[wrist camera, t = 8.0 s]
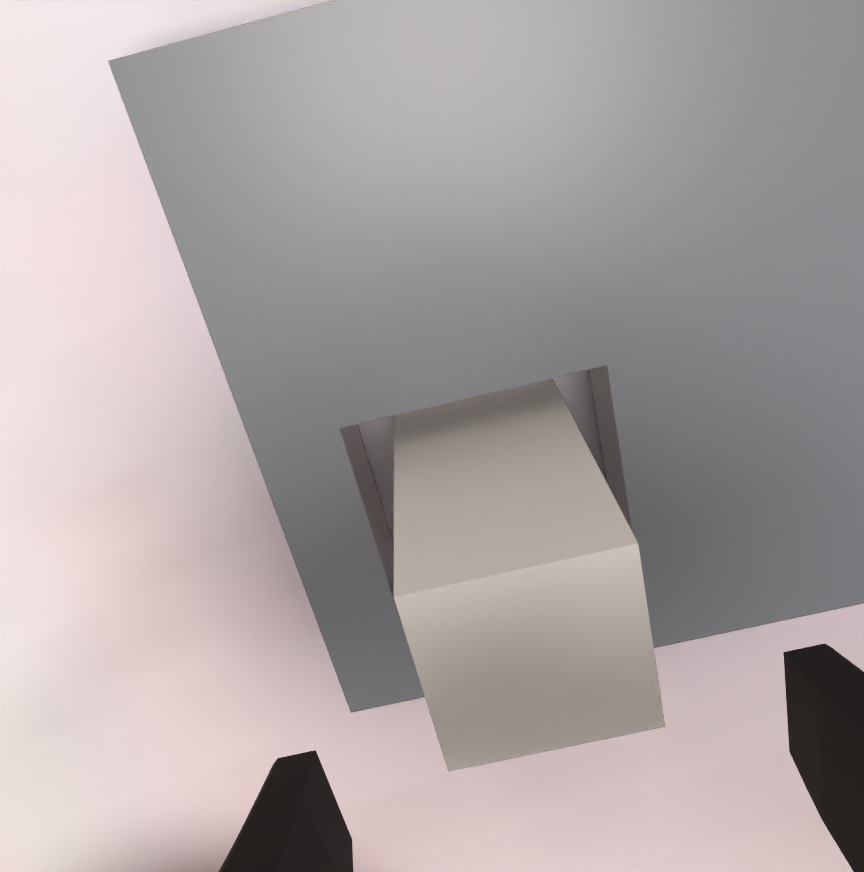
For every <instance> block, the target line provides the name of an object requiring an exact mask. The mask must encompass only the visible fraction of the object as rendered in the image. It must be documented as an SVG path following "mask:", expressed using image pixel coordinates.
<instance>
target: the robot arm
mask: <svg viewBox="0 0 864 872" xmlns="http://www.w3.org/2000/svg"><path fill="white" fill-rule="evenodd" d="M784 666H785V683H786V699H787V716H788V733H789V750H790V753H791V756H792V758H793V760H794V762H795V764H796V766H797V768H798V771H799V773H800V775H801V777H802V779H803V781H804V784H805V786H806V788H807V790H808V792H809V794H810V796H811V798H812V800H813V802H814V804H815V806H816V808H817V810H818V812H819V814H820V816H821V818H822V820H823V822H824V824H825V825H826V827H827V829H828V830H829V832H830V834H831V835H832V837H833V839H834V840H835V842H836V843H837V845H838V847H839V848H840V850H841V852H842V853H843V855H844V856H845V858H846V860H847V861H848V863H849V865H850V866H851V868H852V870H853V871H854V872H864V672H863V671H862V670H860V669H859V668H858V667H856V666H855V665H854V664H852V663H851V662H850V661H849V660H847V659H846V658H845V657H843V656H842V655H841V654H839V653H838V652H837V651H835V650H834V649H833V648H831V647H830V646H828V645H826V644H821V645H816V646H812V647H807V648H802V649H797V650H792V651H788V652H784ZM219 872H353V855H352V838H351V836H350V833H349V831H348V829H347V826H346V824H345V821H344V819H343V816H342V814H341V811H340V809H339V807H338V804H337V802H336V799H335V797H334V794H333V792H332V789H331V787H330V785H329V782H328V780H327V777H326V775H325V772H324V770H323V767H322V765H321V763H320V760H319V758H318V755H317V753H316V750H315V751H310V752H306V753H301V754H296V755H291V756H287V757H282V758H278V759H277V760H276V762H275V763H274V764H273V766H272V768H271V770H270V772H269V774H268V776H267V778H266V780H265V782H264V784H263V787H262V789H261V791H260V793H259V795H258V797H257V799H256V801H255V803H254V805H253V807H252V809H251V811H250V813H249V815H248V817H247V819H246V821H245V823H244V825H243V827H242V829H241V831H240V833H239V835H238V837H237V839H236V841H235V843H234V844H233V846H232V848H231V850H230V852H229V854H228V856H227V858H226V859H225V861H224V863H223V865H222V867H221V869H220V871H219Z"/></svg>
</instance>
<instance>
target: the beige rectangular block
mask: <svg viewBox="0 0 864 872" xmlns="http://www.w3.org/2000/svg"><path fill="white" fill-rule="evenodd" d="M394 600H395V603H396V607H397V610H398V613H399V616H400V619H401V622H402V626H403V629H404V632H405V635H406V638H407V641H408V645H409V648H410V651H411V654H412V657H413V661H414V664H415V667H416V670H417V673H418V676H419V680H420V683H421V686H422V689H423V692H424V695H425V699H426V702H427V705H428V708H429V711H430V714H431V718H432V721H433V724H434V727H435V730H436V734H437V737H438V740H439V743H440V746H441V749H442V753H443V756H444V759H445V762H446V765H447V768H448V772H449V771H454V770H458V769H463V768H468V767H473V766H478V765H482V764H487V763H492V762H497V761H502V760H507V759H511V758H516V757H521V756H526V755H531V754H536V753H540V752H545V751H550V750H555V749H560V748H564V747H569V746H574V745H579V744H584V743H589V742H593V741H598V740H603V739H608V738H613V737H618V736H622V735H627V734H632V733H637V732H642V731H646V730H651V729H656V728H661V727H665V722H664V715H663V709H662V702H661V695H660V688H659V681H658V675H657V668H656V661H655V654H654V647H653V641H652V634H651V627H650V620H649V613H648V607H647V600H646V593H645V586H644V579H643V573H642V566H641V559H640V552H639V545H638V542H637V540H636V538H635V536H634V534H633V532H632V530H631V529H630V527H629V525H628V523H627V521H626V519H625V517H624V515H623V513H622V511H621V509H620V507H619V505H618V503H617V502H616V500H615V498H614V496H613V494H612V492H611V490H610V488H609V486H608V484H607V482H606V480H605V478H604V476H603V475H602V473H601V471H600V469H599V467H598V465H597V463H596V461H595V459H594V457H593V455H592V453H591V451H590V449H589V448H588V446H587V444H586V442H585V440H584V438H583V436H582V434H581V432H580V430H579V428H578V426H577V424H576V422H575V421H574V419H573V417H572V415H571V413H570V411H569V409H568V407H567V405H566V403H565V401H564V399H563V397H562V395H561V394H560V392H559V390H558V388H557V386H556V384H555V382H554V380H553V378H551V379H547V380H542V381H538V382H534V383H530V384H525V385H521V386H517V387H513V388H508V389H504V390H500V391H496V392H491V393H487V394H483V395H479V396H474V397H470V398H466V399H462V400H457V401H453V402H449V403H445V404H440V405H436V406H432V407H428V408H424V409H419V410H415V411H411V412H407V413H402V414H398V415H394Z"/></svg>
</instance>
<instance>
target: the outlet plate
mask: <svg viewBox="0 0 864 872" xmlns="http://www.w3.org/2000/svg"><path fill="white" fill-rule="evenodd" d="M108 62H109V65H110V67H111V70H112V73H113V75H114V78H115V81H116V84H117V86H118V89H119V92H120V94H121V97H122V100H123V102H124V105H125V108H126V110H127V113H128V116H129V118H130V121H131V124H132V126H133V129H134V132H135V134H136V137H137V140H138V143H139V145H140V148H141V151H142V153H143V156H144V159H145V161H146V164H147V167H148V169H149V172H150V175H151V177H152V180H153V183H154V185H155V188H156V191H157V193H158V196H159V199H160V202H161V204H162V207H163V210H164V212H165V215H166V218H167V220H168V223H169V226H170V228H171V231H172V234H173V236H174V239H175V242H176V244H177V247H178V250H179V252H180V255H181V258H182V261H183V263H184V266H185V269H186V271H187V274H188V277H189V279H190V282H191V285H192V287H193V290H194V293H195V295H196V298H197V301H198V303H199V306H200V309H201V311H202V314H203V317H204V320H205V322H206V325H207V328H208V330H209V333H210V336H211V338H212V341H213V344H214V346H215V349H216V352H217V354H218V357H219V360H220V362H221V365H222V368H223V370H224V373H225V376H226V379H227V381H228V384H229V387H230V389H231V392H232V395H233V397H234V400H235V403H236V405H237V408H238V411H239V413H240V416H241V419H242V421H243V424H244V427H245V429H246V432H247V435H248V438H249V440H250V443H251V446H252V448H253V451H254V454H255V456H256V459H257V462H258V464H259V467H260V470H261V472H262V475H263V478H264V480H265V483H266V486H267V488H268V491H269V494H270V497H271V499H272V502H273V505H274V507H275V510H276V513H277V515H278V518H279V521H280V523H281V526H282V529H283V531H284V534H285V537H286V539H287V542H288V545H289V547H290V550H291V553H292V556H293V558H294V561H295V564H296V566H297V569H298V572H299V574H300V577H301V580H302V582H303V585H304V588H305V590H306V593H307V596H308V598H309V601H310V604H311V606H312V609H313V612H314V615H315V617H316V620H317V623H318V625H319V628H320V631H321V633H322V636H323V639H324V641H325V644H326V647H327V649H328V652H329V655H330V657H331V660H332V663H333V665H334V668H335V671H336V674H337V676H338V679H339V682H340V684H341V687H342V690H343V692H344V695H345V698H346V700H347V703H348V706H349V708H350V711H351V713H352V712H356V711H361V710H366V709H370V708H375V707H380V706H384V705H389V704H394V703H399V702H403V701H408V700H413V699H417V698H422V697H425V695H424V692H423V689H422V686H421V683H420V680H419V676H418V673H417V670H416V667H415V664H414V661H413V657H412V654H411V651H410V648H409V645H408V641H407V638H406V635H405V632H404V629H403V626H402V622H401V619H400V616H399V613H398V610H397V607H396V603H395V600H394V543H393V540H392V537H391V533H390V530H389V527H388V524H387V520H386V517H385V514H384V510H383V507H382V504H381V501H380V497H379V494H378V491H377V487H376V484H375V481H374V478H373V474H372V471H371V468H370V465H369V461H368V458H367V455H366V451H365V448H364V445H363V442H362V438H361V435H360V432H359V428H358V425H357V424H360V423H364V422H368V421H373V420H377V419H381V418H385V417H390V416H394V415H398V414H402V413H407V412H411V411H415V410H419V409H424V408H428V407H432V406H436V405H440V404H445V403H449V402H453V401H457V400H462V399H466V398H470V397H474V396H479V395H483V394H487V393H491V392H496V391H500V390H504V389H508V388H513V387H517V386H521V385H525V384H530V383H534V382H538V381H542V380H547V379H551V378H555V377H559V376H564V375H568V374H572V373H576V372H581V371H585V370H589V376H590V382H591V388H592V394H593V400H594V407H595V413H596V419H597V425H598V431H599V437H600V444H601V450H602V456H603V462H604V468H605V475H606V481H607V484H608V486H609V488H610V490H611V492H612V494H613V496H614V498H615V500H616V502H617V503H618V505H619V507H620V509H621V511H622V513H623V515H624V517H625V519H626V521H627V523H628V525H629V527H630V529H631V530H632V532H633V534H634V536H635V538H636V540H637V542H638V545H639V552H640V559H641V566H642V573H643V579H644V586H645V593H646V600H647V607H648V613H649V620H650V627H651V634H652V641H653V647H654V648H656V647H661V646H666V645H670V644H675V643H680V642H685V641H689V640H694V639H699V638H703V637H708V636H713V635H717V634H722V633H727V632H731V631H736V630H741V629H745V628H750V627H755V626H760V625H764V624H769V623H774V622H778V621H783V620H788V619H792V618H797V617H802V616H806V615H811V614H816V613H820V612H825V611H830V610H835V609H839V608H844V607H849V606H853V605H858V604H863V603H864V0H333V1H329V2H325V3H321V4H318V5H314V6H310V7H307V8H303V9H299V10H295V11H292V12H288V13H284V14H281V15H277V16H273V17H269V18H266V19H262V20H258V21H255V22H251V23H247V24H243V25H240V26H236V27H232V28H229V29H225V30H221V31H217V32H214V33H210V34H206V35H203V36H199V37H195V38H191V39H188V40H184V41H180V42H177V43H173V44H169V45H165V46H162V47H158V48H154V49H151V50H147V51H143V52H139V53H136V54H132V55H128V56H125V57H121V58H117V59H113V60H110V61H108Z"/></svg>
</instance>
